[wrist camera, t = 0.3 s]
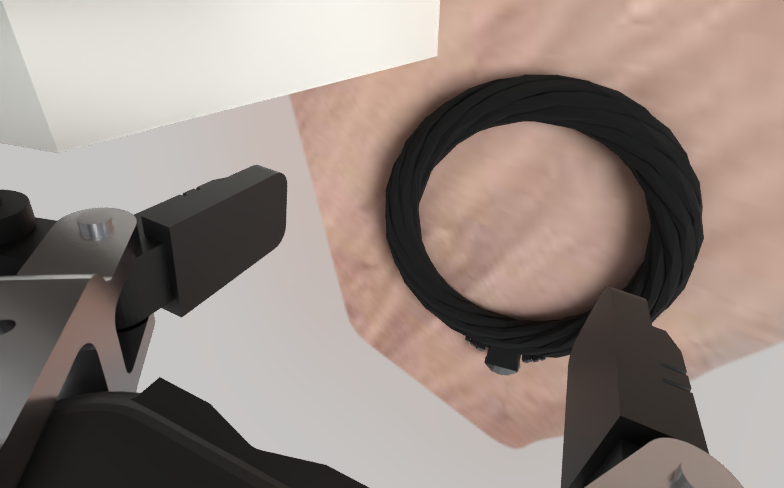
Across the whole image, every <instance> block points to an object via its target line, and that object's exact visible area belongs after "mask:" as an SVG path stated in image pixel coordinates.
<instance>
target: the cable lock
mask: <svg viewBox="0 0 784 488" xmlns="http://www.w3.org/2000/svg"><path fill="white" fill-rule="evenodd" d="M521 121H536V122H541V123H547V124H552V125H557V126H562V127H568V128H573V129H575V130H577V131H579V132H581V133H583V134H585V135H587V136H589V137H591V138H593V139H595V140H597V141H599V142H601V143H602V144H603V145H605V146H606V147H607V148H609V149H610V150H611V151H613V152H614V153H615V154H617V155H618V156H619V157H620V158H621V159H622V160H623V162H624V163H625V164H626V165H627V166H628V167H629V168H630V169H631V171H632V172H633V174H634V176H635V177H636V179H637V181H638V182H639V184H640V186H641V188H642V189H643V191H644V193H645V197H646V202H647V207H648V212H649V217H650V222H651V230H650V235H649V240H648V245H647V250H646V255H645V260H644V262H643V263H642V264H641V266H640V267H639V269H638V270H637V272H636V273H635V275H634V276H633V278H632V279H631V280H630V282H629V283H628V285H627V286H626V288H624V289H623V290H622V291H624V292H627V293H630V294H633V295H636V296H639V297H642V298H645V299H646V300H647V303H648V308H649V313H650V318H651V323H652V322H653V321H654V320H655V319H656V318H657V317H658V316H659V315H660V314H661V313H662V312H663V311H664V310H666V309H667V308H669V306H670V305H671V304H672V303H673V302H674V300H675V299H676V298H677V297H678V296H679V294H680V293H681V292H682V291H683V290H684V288H685V286H686V284H687V282H688V279H689V277H690V275H691V272H692V270H693V268H694V263H695V261H696V259H697V256H698V253H699V251H700V248H701V245H702V242H703V239H704V235H703V225H702V207H703V206H702V198H701V190H700V182H699V180H698V178H697V176H696V174H695V173H694V171H693V169H692V167H691V165H690V163H689V159H688V156H687V154H686V152H685V151H684V149H683V148H682V146H681V145H680V143H679V142H678V140H677V139H676V138H675V136H674V135H673V133H672V132H671V130H670V129H669V128H668V127H666V126H665V125H664V124H662V123H661V122H660V121H659V120H657V119H656V118H655V117H653V116H652V115H651V114H650V113H649V112H648V110H647V109H646V108H644V107H643V106H641V105H640V104H638V103H636V102H635V101H633V100H632V99H630V98H628V97H627V96H625V95H624V94H622V93H621V92H619V91H616V90H613V89H610V88H607V87H604V86H600V85H597V84H594V83H592V82H590V81H586V80H581V79H575V78H570V77H565V76H559V75H523V76H519V77H513V78H506V79H498V80H494V81H491V82H488V83H485V84H482V85H479V86H476V87H473V88H470V89H468V90H466V91H465V92H463V93H462V94H460V95H458V96H457V97H455V98H453V99H452V100H450V101H448V102H446V103H445V104H443V105H442V106H441V107H439V108H438V109H437V110H436V111H434V112H433V113H432V114H430V115H429V116H428V117H426V118H425V119H424V121H423V122H422V123H421V124H420V125H419V127H418V128H417V129H416V130H415V131H414V132H413V134H412V135H411V136H410V137H409V138H408V140H407V141H406V142H405V144H404V147H403V149H402V152H401V154H400V155H399V157H398V159H397V160H396V162H395V163H394V166H393V169H392V172H391V175H390V178H389V181H388V185H387V188H386V215H385V218H386V236H387V241H388V244H389V247H390V249H391V252H392V255H393V258H394V261H395V264H396V265H397V267H398V269H399V271H400V273H401V275H402V278H403V280H404V282H405V283H406V285H407V286H408V287H409V288H410V290H411V291H412V292H413V293H414V295H415V296H416V297H417V298H418V300H419V301H420V302H421V303H422V305H423V306H424V307H425V308H426V309H427V310H429V311H430V312H431V313H433V314H434V315H435V316H436V317H437V318H439V319H440V320H441V321H442V322H444V323H445V324H446V325H447V326H449V327H450V328H451V329H453V330H455V331H457V332H459V333H461V334H463V335H465V336H466V338H465V339H466V341H467V342H469V341H470V342H471V343H470V344H471V345H472V346H475V345H476V343H477V346H476V349H478V350H480V351H484V350H485V346H487V347H489V349H488V353H487V356H486V357H485V364H486V365H487V366H488V367H489V368H490V370H491V371H493V372H495V373H497V374H500V375H511V374H514V373H517V372H518V370H519V368H520V357H521V355H522V361H523V362H525V363H528V362H532V361H533V362H537V361H538V360H540V359H541V361H542V360H545V359H546V357H553V358H557V357H562V356H567V355H571V351H572V348H573V345H574V343H575V341H576V339H577V337H578V335H579V333H580V331H581V329H582V327H583V326H584V324H585V322H586V320H587V318H588V316H589V315H590V313H591V311H590V312H587V313H584V314H581V315H579V316H575V317H571V318H567V319H563V320H554V321H518V320H515V319H511V318H508V317H504V316H501V315H497V314H494V313H491V312H488V311H485V310H483V309H481V308H479V307H478V306H476V305H475V304H473V303H471V302H470V301H468V300H467V299H465V298H464V297H462V296H461V295H460V294H458V293H457V292H456V291H455V290H453V289H452V288H451V287H450V286H449V285H448V284H447V283H446V281H445V280H444V279H443V278H442V277H441V276H440V274H439V273H438V272H437V270H436V268H435V267H434V265H433V263H432V262H431V260H430V258H429V256H428V255H427V253H426V250H425V247H424V244H423V242H422V236H421V227H420V219H419V203H420V200H421V198H422V195H423V192H424V190H425V187H426V184H427V182H428V179H429V176H430V174H431V171H432V170H433V168H434V167H435V166H436V165H437V164H438V163H439V162H440V161H441V160H442V159H443V158H444V157H445V156H446V155H447V154H448V153H449V152H450V151H451V150H452V149H453V148H454V147H455V146H456V145H457V144H459V143H460V142H462V141H464V140H465V139H467V138H469V137H470V136H472V135H474V134H475V133H477V132H479V131H482V130H485V129H488V128H491V127H495V126H500V125H505V124H511V123H516V122H521ZM470 338H471V340H470ZM531 359H532V360H531Z"/></svg>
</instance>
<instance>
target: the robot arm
mask: <svg viewBox="0 0 784 488" xmlns="http://www.w3.org/2000/svg"><path fill="white" fill-rule="evenodd" d="M286 204H287V180H286V177H285V175H284V174H282V173H280V172H277V171H274V170H271V169H268V168H265V167H262V166H259V165H254V166H251V167H249V168H247V169H245V170H242V171H240V172H238V173H235V174H233V175H231V176H229V177H226V178H221V179H216V180H212V181H210V182H208V183H205V184H203V185H201V186H199V187H197V189H192V190H189V191H187V192H185V193H183V195H178V196H176V197H173V198H171V199H169V200H167V201H164V202H162V203H160V204H157V205H155V206H153V207H151V208H148V209H146V210H144V211H141V212H139V213H137V214H135V215H133V214H131V213H130V212H127V211H125V210H121V209H116V208H92V209H86V210H81V211H77V212H74V213H71V214H69V215H67V216H65V217H63V218H61V219H60V220H58V221H54V220H48V219H42V218H35V217H34V213H33V210H32V207H31V205H30V201H29V199H28V197H27V196H26V195H24V194H22V193H20V192H16V191H10V190H0V488H368V487H367V486H365V485H363V484H361V483H359V482H357V481H355V480H353V479H351V478H350V477H348V476H346V475H344V474H342V473H340V472H338V471H336V470H335V469H333V468H331V467H329V466H327V465H323V464H319V463H315V462H310V461H306V460H301V459H297V458H293V457H288V456H283V455H280V454H275V453H271V452H266V451H262V450H259V449H256V448H254V447H252V446H251V445H250V444H248V442H247V441H246V440H245V439H244V438H243V437H242V436H241V435H240V434H239V433H238V432H237V431H236V430H235V429H234V428H233V427H232V426H231V425H230V424H229V423H228V422H227V421H226V420H225V419H224V418H223V417H222V416H221V415H220V414H219V413H218V412H217V411H216V409H215V408H213V406H212V405H211V404H209V403H208V402H206V401H203V400H202V399H200V398H198V397H196V396H194V395H193V394H191V393H189V392H187V391H185V390H183V389H181V388H179V387H177V386H175V385H174V384H171V383H170V382H168V381H166V380H164V379H162V378H160V377H159V378H158V379H157V380H156V381H155V382H154V383H153V384H151V385H150V386H149V387H148V388H146V389H145V390H144V391H143V392H142V393H136V390H137V385H138V382H139V378H140V375H141V371H142V368H143V364H144V360H145V357H146V353H147V350H148V346H149V343H150V339H151V336H152V332H153V329H154V325H155V319H154V312H155V311H157V310H158V309H160V308H163V309H165V310H167V311H169V312H171V313H173V314H175V315H178V316H180V317H183V316H184V315H186V314H187V313H188V312H190V311H191V310H193V309H194V308H195V307H197V306H198V305H199V304H201V303H202V302H203V301H205V300H206V299H207V298H209V297H210V296H211V295H213V294H214V293H215V292H217V291H218V290H219V289H221V288H222V287H224V286H225V285H226V284H227V283H229V282H230V281H232V280H233V279H234V278H236V277H237V276H238V275H240V274H241V273H242V272H244V271H245V270H246V269H248V268H249V267H251V266H252V265H253V264H255V263H256V262H257V261H259V260H260V259H261V258H263V257H264V256H265V255H267V254H268V253H269V252H271V251H272V250H273V249H275V248H276V247H277V246H278V245H279V243H280V242H281V240H282V238H283V236H284V233H285V228H286ZM686 372H687V371H686V367H685V364H684V360H683V356H682V352H681V351H680V349H679V348H678V347H677V345H676V344H675V343H674V341H673V340H672V339H671V337H670V336H669V335H668V333H667V332H666V331H664V330H662V329H659V328H656V327H653V326H652V323H651V318H650V313H649V308H648V303H647V300H646V299H645V298H642V297H639V296H636V295H633V294H630V293H627V292H624V291H621V290H619V289H616V288H613V287H610V286H607V287H606V288H605V289H604V290H603V291H602V293H601V295H600V296H599V298H598V300H597V302H596V304H595V305H594V307H593V309H592V311H591V313H590V315H589V316H588V318H587V320H586V322H585V324H584V326H583V327H582V329H581V331H580V333H579V335H578V337H577V339H576V341H575V343H574V345H573V348H572V351H571V355H570V359H569V364H568V379H567V395H566V412H565V428H564V444H563V461H562V477H561V488H743V487H742V485H741V484H740V482H739V481H738V480H737V479H736V478H735V477H734V476H733V474H732V473H731V472H730V471H729V470H727V469H726V468H725V467H724V466H723V465H722V464H721V463H720V462H718V461H717V460H716V459H715V458H713V457H712V456H710V455H709V452H708V448H707V445H706V441H705V437H704V434H703V430H702V426H701V423H700V419H699V415H698V411H697V408H696V404H695V400H694V397H693V393H690V390H691V386H690V382H689V378H688V376H687V375H686Z"/></svg>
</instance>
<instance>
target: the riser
mask: <svg viewBox="0 0 784 488" xmlns="http://www.w3.org/2000/svg"><path fill="white" fill-rule="evenodd" d="M439 10H440V0H0V143H3V144H9V145H15V146H21V147H27V148H32V149H38V150H43V151H49V152H55V153H62V152H66V151H69V150H73V149H77V148H81V147H85V146H89V145H93V144H97V143H101V142H105V141H108V140H112V139H116V138H120V137H124V136H128V135H132V134H136V133H140V132H144V131H148V130H151V129H155V128H159V127H163V126H167V125H171V124H175V123H178V122H183V121H186V120H190V119H194V118H198V117H202V116H206V115H210V114H213V113H218V112H222V111H225V110H229V109H233V108H237V107H241V106H245V105H249V104H253V103H257V102H261V101H265V100H268V99H272V98H276V97H280V96H284V95H288V94H292V93H296V92H300V91H304V90H307V89H311V88H315V87H319V86H323V85H327V84H331V83H335V82H339V81H343V80H346V79H350V78H354V77H358V76H362V75H366V74H370V73H374V72H378V71H382V70H385V69H389V68H393V67H397V66H401V65H405V64H409V63H413V62H417V61H421V60H424V59H428V58H432V57H436V56H437V47H438V29H439Z"/></svg>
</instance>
